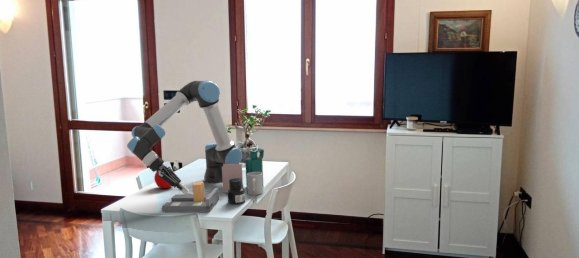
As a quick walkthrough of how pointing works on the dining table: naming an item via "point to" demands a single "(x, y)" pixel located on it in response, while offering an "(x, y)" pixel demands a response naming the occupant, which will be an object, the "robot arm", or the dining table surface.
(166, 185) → the tomato
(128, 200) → the dining table surface
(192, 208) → the breaker housing
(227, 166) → the greeting card
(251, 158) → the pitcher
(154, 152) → the robot arm
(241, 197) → the ink bottle
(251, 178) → the mug
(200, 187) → the lever
